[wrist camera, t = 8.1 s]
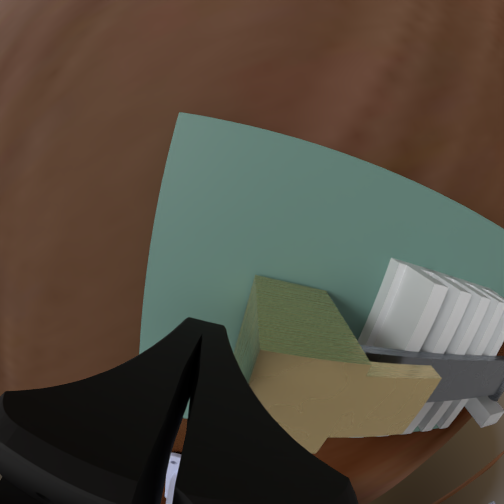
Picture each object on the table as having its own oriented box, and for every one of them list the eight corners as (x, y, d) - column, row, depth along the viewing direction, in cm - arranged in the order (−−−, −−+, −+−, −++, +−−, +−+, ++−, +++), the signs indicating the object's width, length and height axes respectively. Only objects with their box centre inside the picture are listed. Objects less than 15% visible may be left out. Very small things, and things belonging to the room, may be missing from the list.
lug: (360, 374, 13) (396, 448, 8) (232, 355, 12) (226, 445, 7) (393, 305, 12) (454, 368, 7) (255, 274, 11) (259, 349, 6)
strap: (492, 391, 11) (499, 400, 10) (321, 396, 10) (326, 413, 9) (517, 348, 10) (527, 356, 9) (354, 330, 9) (363, 345, 8)
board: (443, 418, 16) (471, 461, 11) (142, 393, 14) (114, 463, 9) (528, 248, 12) (581, 271, 7) (184, 117, 11) (137, 76, 5)
